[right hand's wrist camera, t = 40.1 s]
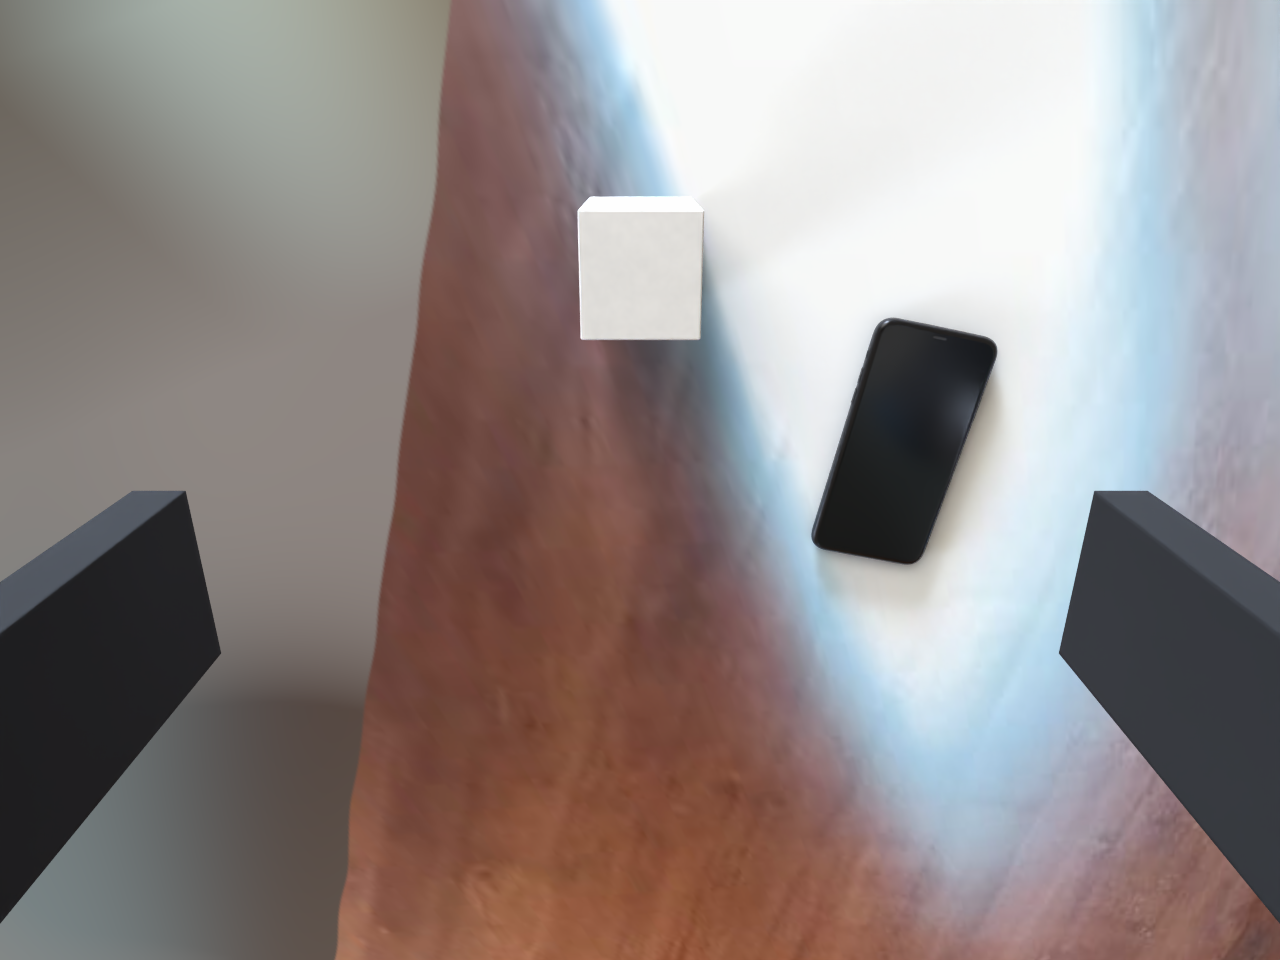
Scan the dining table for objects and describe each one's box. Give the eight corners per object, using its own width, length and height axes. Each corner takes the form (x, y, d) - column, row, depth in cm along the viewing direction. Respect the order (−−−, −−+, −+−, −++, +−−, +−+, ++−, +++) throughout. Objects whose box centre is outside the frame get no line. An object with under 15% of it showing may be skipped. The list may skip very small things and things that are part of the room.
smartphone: (916, 563, 58) (999, 338, 52) (920, 569, 57) (1005, 341, 51) (805, 542, 57) (876, 312, 51) (807, 548, 57) (880, 315, 51)
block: (589, 196, 49) (577, 209, 40) (692, 196, 49) (704, 209, 40) (591, 304, 51) (580, 340, 42) (689, 304, 51) (700, 340, 42)
